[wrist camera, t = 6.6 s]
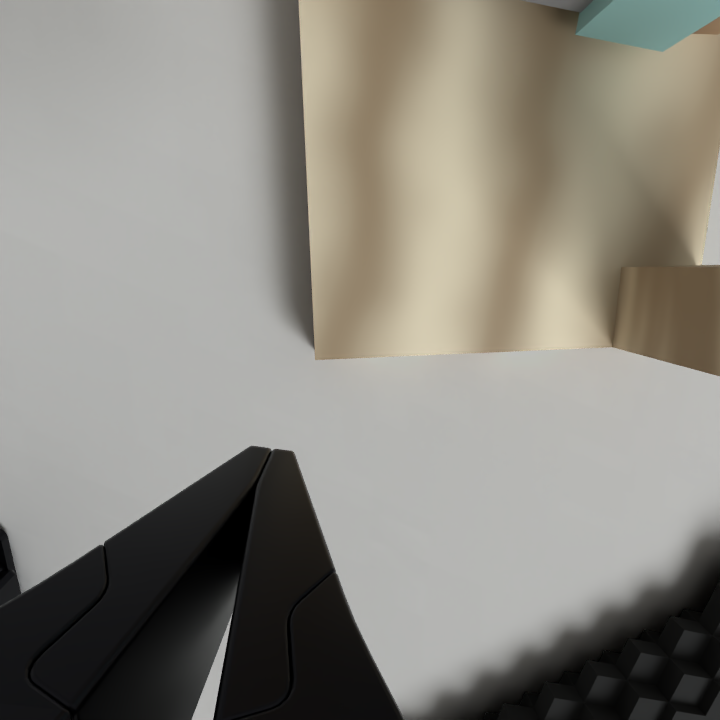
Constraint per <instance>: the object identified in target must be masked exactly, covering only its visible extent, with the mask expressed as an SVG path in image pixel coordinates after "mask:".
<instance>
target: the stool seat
mask: <svg viewBox="0 0 720 720" xmlns="http://www.w3.org/2000/svg"><path fill="white" fill-rule="evenodd" d="M578 17H579V12H576V11H571V10H566V9H561V8H556V7H551V6H546V5H541V4H536V3H531V2H527V1H522V0H299V21H300V43H301V65H302V86H303V108H304V130H305V151H306V173H307V194H308V216H309V238H310V259H311V281H312V302H313V324H314V346H315V360H325V359H348V358H371V357H394V356H418V355H441V354H464V353H487V352H510V351H534V350H557V349H580V348H603V347H614V348H618V349H621V350H625V351H629V352H632V353H636V354H640V355H643V356H647V357H651V358H654V359H658V360H662V361H665V362H669V363H673V364H676V365H680V366H684V367H688V368H691V369H695V370H699V371H702V372H706V373H710V374H713V375H717V376H720V265H702V259H703V252H704V246H705V239H706V232H707V226H708V219H709V213H710V206H711V199H712V193H713V186H714V180H715V173H716V166H717V160H718V153H719V147H720V17H718V18H717V19H715V20H713V21H712V22H710V23H708V24H707V25H705V26H704V27H702V28H700V29H699V30H697V31H696V32H694V33H692V34H691V35H689V36H688V37H686V38H684V39H683V40H681V41H679V42H678V43H676V44H675V45H673V46H671V47H670V48H668V49H667V50H665V51H663V52H660V51H655V50H650V49H645V48H640V47H635V46H630V45H625V44H620V43H615V42H609V41H604V40H599V39H594V38H589V37H584V36H579V35H575V33H576V28H577V23H578Z"/></svg>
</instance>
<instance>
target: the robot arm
mask: <svg viewBox="0 0 720 720" xmlns="http://www.w3.org/2000/svg"><path fill="white" fill-rule="evenodd" d="M232 612H233V614H232ZM231 615H232V619H231V625H230V630H229V636H228V641H227V647H226V652H225V658H224V663H223V669H222V674H221V680H220V685H219V691H218V696H217V702H216V707H215V713H214V718H213V720H405V719H404V717H403V716H402V714H401V712H400V710H399V708H398V706H397V704H396V702H395V700H394V698H393V696H392V694H391V692H390V690H389V688H388V687H387V685H386V683H385V681H384V679H383V677H382V675H381V673H380V671H379V669H378V667H377V665H376V663H375V661H374V659H373V658H372V656H371V654H370V651H369V649H368V647H367V645H366V643H365V641H364V639H363V637H362V635H361V633H360V631H359V629H358V626H357V624H356V622H355V620H354V617H353V615H352V612H351V610H350V607H349V605H348V602H347V600H346V597H345V595H344V592H343V589H342V586H341V583H340V581H339V578H338V575H337V574H336V570H335V567H334V564H333V561H332V559H331V556H330V553H329V550H328V547H327V544H326V542H325V539H324V536H323V533H322V530H321V527H320V525H319V522H318V519H317V516H316V513H315V510H314V508H313V505H312V502H311V499H310V496H309V493H308V490H307V488H306V485H305V482H304V479H303V476H302V473H301V471H300V468H299V465H298V462H297V459H296V456H295V454H294V452H293V451H288V450H280V449H274V450H273V451H271V449H270V448H265V447H258V446H250V447H248V448H247V449H245V450H244V451H242V452H241V453H239V454H238V455H236V456H235V457H233V458H231V459H230V460H228V461H227V462H225V463H224V464H222V465H221V466H219V467H218V468H216V469H215V470H213V471H212V472H210V473H209V474H207V475H206V476H204V477H203V478H201V479H199V480H198V481H196V482H195V483H193V484H192V485H190V486H189V487H187V488H186V489H184V490H183V491H181V492H180V493H178V494H177V495H175V496H174V497H172V498H171V499H169V500H168V501H166V502H164V503H163V504H161V505H160V506H158V507H157V508H155V509H154V510H152V511H151V512H149V513H148V514H146V515H145V516H143V517H142V518H140V519H139V520H137V521H136V522H134V523H133V524H131V525H129V526H128V527H126V528H125V529H123V530H122V531H120V532H119V533H117V534H116V535H114V536H113V537H111V538H110V539H108V540H107V541H105V542H104V546H103V545H99V546H97V547H96V548H94V549H93V550H91V551H90V552H88V553H87V554H85V555H83V556H82V557H80V558H79V559H77V560H76V561H74V562H73V563H71V564H69V565H68V566H66V567H65V568H63V569H61V570H60V571H58V572H57V573H55V574H54V575H52V576H50V577H49V578H47V579H46V580H44V581H42V582H41V583H39V584H38V585H36V586H34V587H32V588H31V589H29V590H27V591H25V592H24V593H22V594H21V592H20V587H19V583H18V579H17V575H16V570H15V566H14V562H13V557H12V553H11V549H10V544H9V540H8V536H7V534H6V533H5V532H4V531H3V530H1V529H0V720H191V719H192V717H193V714H194V711H195V709H196V706H197V704H198V701H199V698H200V696H201V693H202V691H203V688H204V685H205V683H206V680H207V677H208V675H209V672H210V670H211V667H212V664H213V662H214V659H215V657H216V654H217V651H218V649H219V646H220V643H221V641H222V638H223V636H224V633H225V630H226V628H227V625H228V623H229V620H230V617H231Z"/></svg>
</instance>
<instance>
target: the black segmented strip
mask: <svg viewBox="0 0 720 720" xmlns="http://www.w3.org/2000/svg"><path fill="white" fill-rule="evenodd" d="M483 720H720V580H719V582H718V584H717V586H716V588H715V590H714V592H713V594H712V596H711V598H710V599H709V601H708V603H707V605H706V607H705V609H704V611H703V613H701V612H696V611H692V610H687V609H683V611H682V613H681V615H680V617H679V618H677V617H672V616H670V618H669V620H668V622H667V624H666V626H665V628H664V630H663V632H662V633H658V632H653V631H648V630H644V631H643V633H642V635H641V637H640V639H639V640H636V639H631V638H628V640H627V642H626V644H625V646H624V648H623V650H622V652H621V653H616V652H610V651H605V650H604V652H603V654H602V656H601V658H600V661H599V662H596V661H591V660H587V661H586V663H585V665H584V667H583V669H582V671H581V673H580V674H579V673H573V672H567V671H565V672H564V674H563V676H562V678H561V680H560V683H559V684H557V683H551V682H545V684H544V686H543V688H542V690H541V692H540V694H536V693H530V692H525V694H524V696H523V698H522V701H521V703H520V705H512V704H506V703H504V705H503V707H502V709H501V711H500V714H494V713H487V712H486V714H485V716H484V719H483Z"/></svg>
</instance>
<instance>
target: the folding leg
mask: <svg viewBox="0 0 720 720" xmlns="http://www.w3.org/2000/svg"><path fill="white" fill-rule="evenodd" d="M522 1H527V2H531V3H536V4H541V5H546V6H551V7H556V8H561V9H566V10H571V11H576V12H579V17H578V23H577V28H576V33H575V35H579V36H584V37H589V38H594V39H599V40H604V41H609V42H615V43H620V44H625V45H630V46H635V47H640V48H645V49H650V50H655V51H660V52H663V51H665V50H667V49H668V48H670V47H671V46H673V45H675V44H676V43H678V42H679V41H681V40H683V39H684V38H686V37H688V36H689V35H691V34H692V33H694V32H696V31H697V30H699V29H700V28H702V27H704V26H705V25H707V24H708V23H710V22H712V21H713V20H715V19H717V18H718V17H720V0H522Z"/></svg>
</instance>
